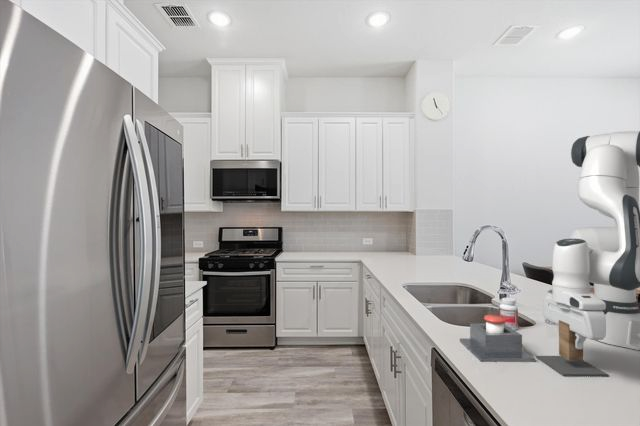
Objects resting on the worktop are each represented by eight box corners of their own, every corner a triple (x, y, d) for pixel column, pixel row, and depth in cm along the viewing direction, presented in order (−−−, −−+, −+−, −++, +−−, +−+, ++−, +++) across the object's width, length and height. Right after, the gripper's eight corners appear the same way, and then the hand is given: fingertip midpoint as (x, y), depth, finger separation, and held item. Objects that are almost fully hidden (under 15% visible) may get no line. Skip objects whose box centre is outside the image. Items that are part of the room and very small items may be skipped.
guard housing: (506, 341, 118) (506, 321, 118) (535, 361, 102) (535, 338, 102) (459, 341, 118) (459, 321, 118) (480, 361, 102) (480, 338, 102)
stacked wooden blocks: (572, 354, 100) (572, 320, 100) (583, 360, 96) (582, 324, 96) (559, 354, 100) (558, 320, 100) (568, 360, 96) (568, 324, 96)
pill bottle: (507, 324, 136) (507, 296, 136) (521, 329, 130) (521, 300, 130) (495, 326, 134) (495, 297, 133) (509, 331, 128) (509, 301, 128)
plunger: (499, 342, 113) (499, 314, 113) (509, 349, 107) (509, 320, 107) (481, 342, 113) (481, 314, 113) (489, 349, 107) (489, 320, 107)
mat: (575, 357, 105) (575, 355, 105) (608, 376, 93) (608, 374, 93) (536, 357, 105) (536, 355, 105) (563, 376, 93) (563, 374, 93)
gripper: (536, 288, 109) (537, 332, 109) (586, 305, 88) (586, 359, 88) (557, 288, 109) (557, 332, 109) (611, 305, 88) (611, 359, 88)
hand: (570, 344), depth 98 cm, fingers closed on stacked wooden blocks, 4 cm apart
